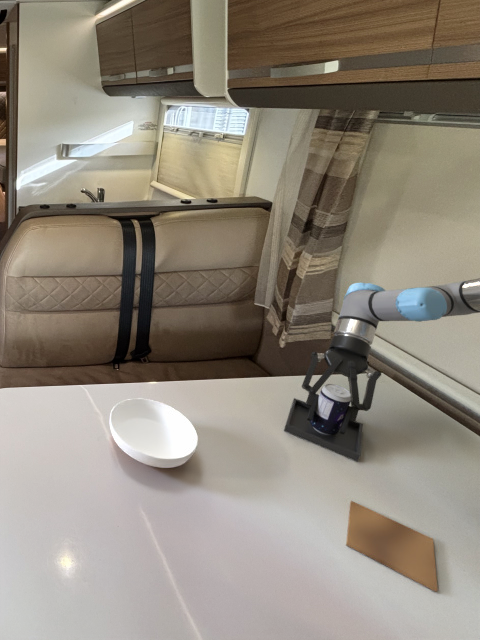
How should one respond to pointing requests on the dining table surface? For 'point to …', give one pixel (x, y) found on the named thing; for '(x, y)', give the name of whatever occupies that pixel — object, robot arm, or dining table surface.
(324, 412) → the beverage can
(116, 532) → the dining table surface
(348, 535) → the trivet
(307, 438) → the tray
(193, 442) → the bowl
